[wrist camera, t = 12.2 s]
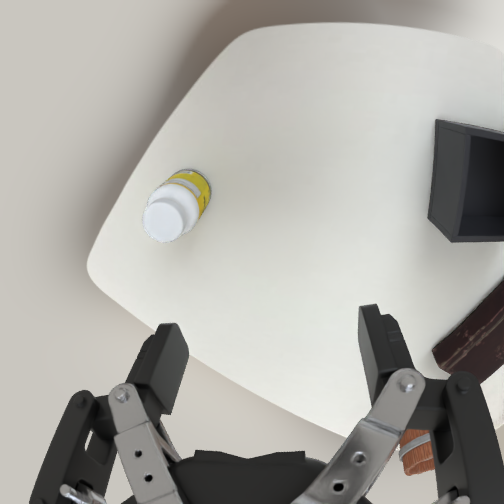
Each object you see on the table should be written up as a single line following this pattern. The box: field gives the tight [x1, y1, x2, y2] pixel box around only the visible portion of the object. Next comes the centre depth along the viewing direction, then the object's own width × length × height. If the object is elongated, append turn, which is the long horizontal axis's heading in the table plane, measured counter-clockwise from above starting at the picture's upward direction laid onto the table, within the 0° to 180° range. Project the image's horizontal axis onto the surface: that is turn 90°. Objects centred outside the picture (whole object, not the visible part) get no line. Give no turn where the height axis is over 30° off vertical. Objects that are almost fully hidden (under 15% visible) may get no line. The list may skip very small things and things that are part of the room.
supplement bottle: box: [142, 169, 211, 243], centre depth 30 cm, size 5×5×10 cm
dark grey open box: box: [428, 119, 504, 243], centre depth 26 cm, size 16×13×7 cm
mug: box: [399, 429, 435, 476], centre depth 46 cm, size 14×19×15 cm
